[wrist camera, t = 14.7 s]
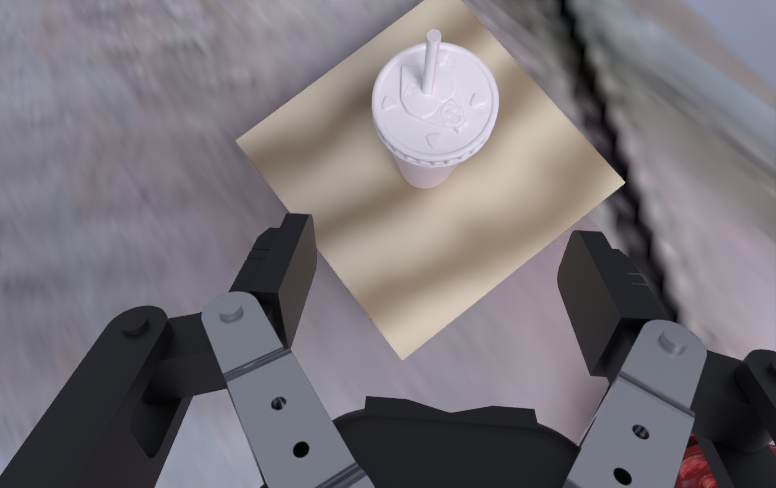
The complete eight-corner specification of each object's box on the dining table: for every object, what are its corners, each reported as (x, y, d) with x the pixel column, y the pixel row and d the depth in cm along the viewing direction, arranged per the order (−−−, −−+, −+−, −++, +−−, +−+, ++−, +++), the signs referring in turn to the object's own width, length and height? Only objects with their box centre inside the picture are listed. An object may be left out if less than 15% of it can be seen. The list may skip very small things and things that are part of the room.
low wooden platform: (266, 169, 38) (235, 140, 31) (438, 40, 39) (446, -17, 32) (402, 348, 35) (402, 360, 28) (583, 204, 36) (625, 182, 29)
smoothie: (426, 104, 31) (446, -59, 17) (488, 166, 30) (562, 47, 16) (362, 162, 30) (328, 43, 16) (422, 225, 29) (441, 157, 16)
